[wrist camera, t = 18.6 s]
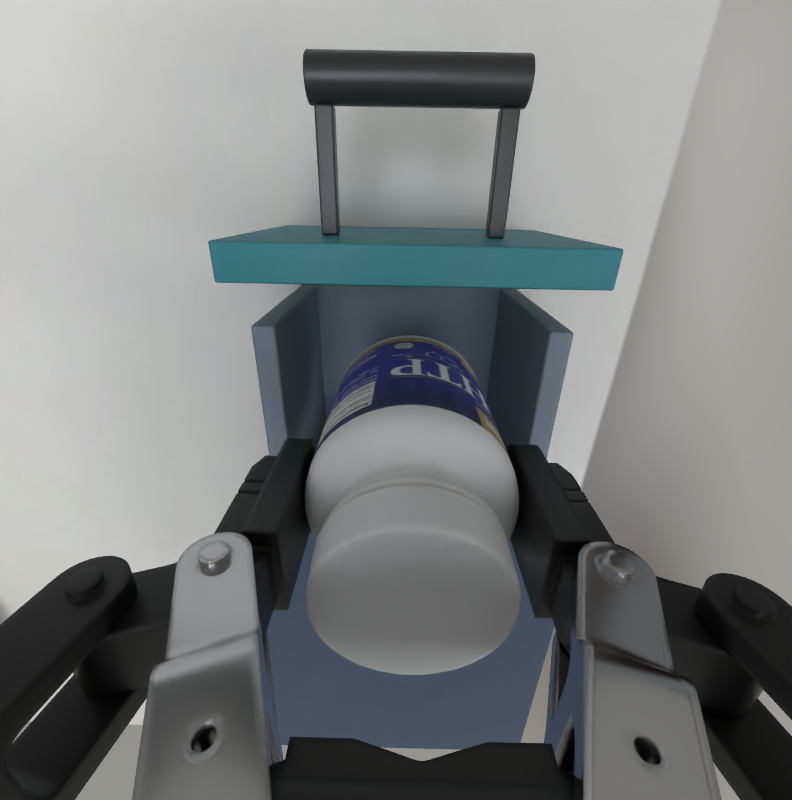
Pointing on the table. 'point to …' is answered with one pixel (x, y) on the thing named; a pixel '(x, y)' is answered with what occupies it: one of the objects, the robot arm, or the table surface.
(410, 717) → the cabinet
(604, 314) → the table surface
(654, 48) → the table surface
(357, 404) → the pill bottle
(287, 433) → the drawer
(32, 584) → the table surface
